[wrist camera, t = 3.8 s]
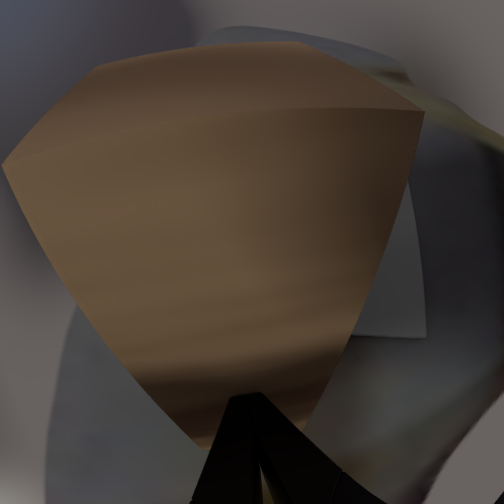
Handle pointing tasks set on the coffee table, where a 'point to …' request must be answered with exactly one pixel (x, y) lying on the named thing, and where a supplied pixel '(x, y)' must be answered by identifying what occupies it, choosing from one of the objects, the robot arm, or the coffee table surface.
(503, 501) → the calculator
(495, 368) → the coffee table surface
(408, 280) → the mat
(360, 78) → the block
